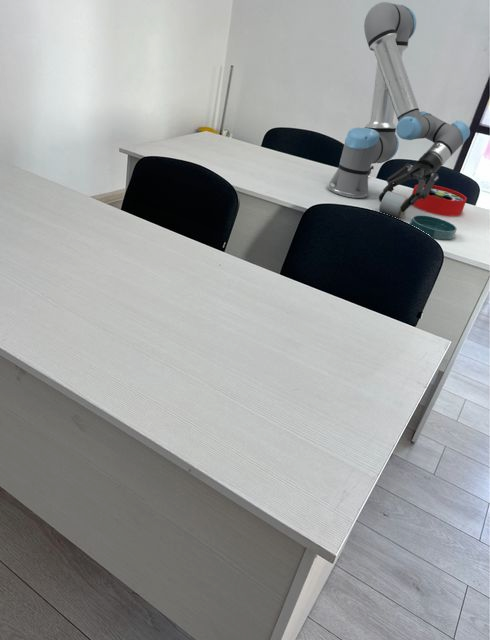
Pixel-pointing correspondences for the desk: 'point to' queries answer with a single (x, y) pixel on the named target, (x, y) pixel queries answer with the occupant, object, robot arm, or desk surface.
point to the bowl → (434, 227)
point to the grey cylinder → (392, 204)
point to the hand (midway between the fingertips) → (390, 204)
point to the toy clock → (441, 201)
